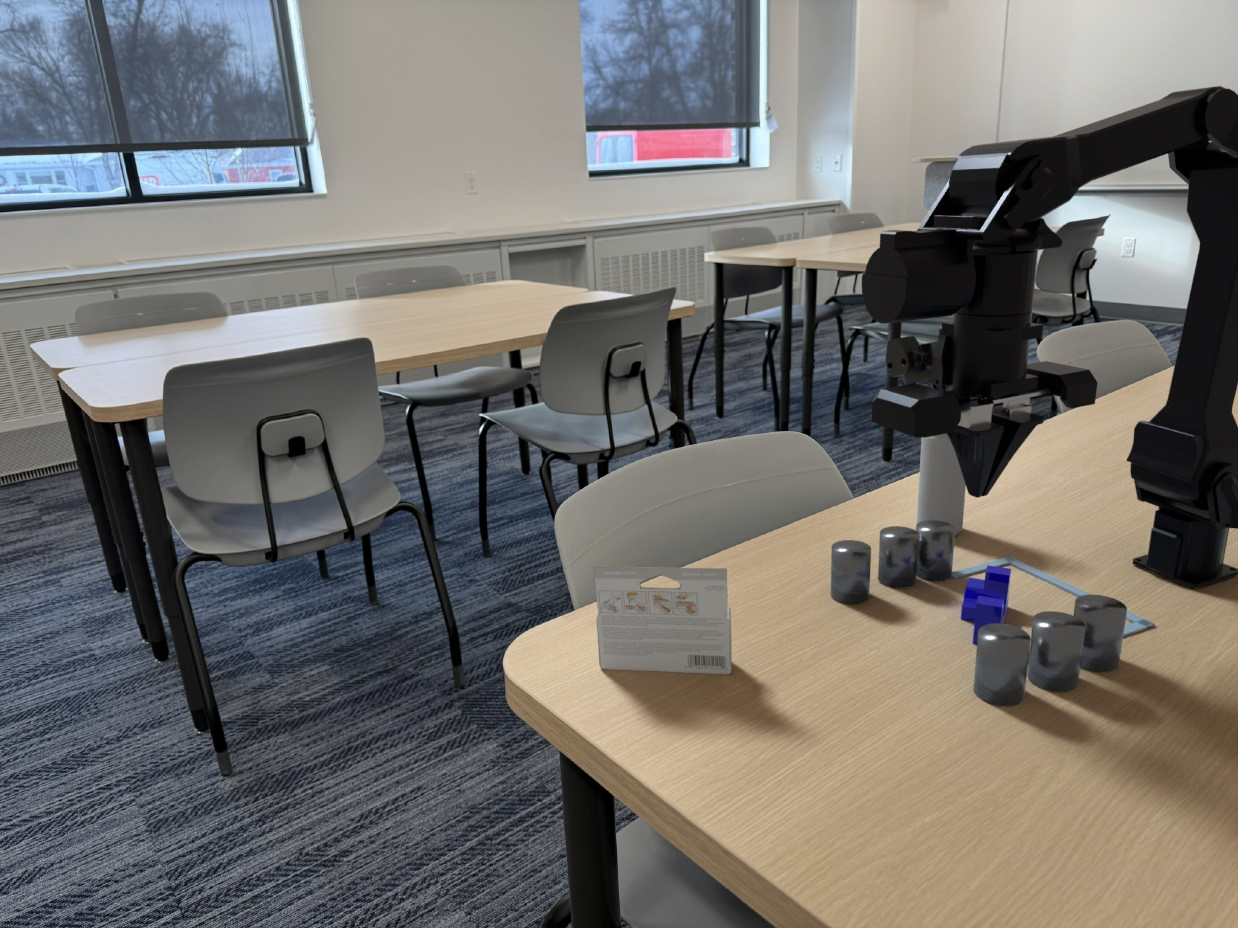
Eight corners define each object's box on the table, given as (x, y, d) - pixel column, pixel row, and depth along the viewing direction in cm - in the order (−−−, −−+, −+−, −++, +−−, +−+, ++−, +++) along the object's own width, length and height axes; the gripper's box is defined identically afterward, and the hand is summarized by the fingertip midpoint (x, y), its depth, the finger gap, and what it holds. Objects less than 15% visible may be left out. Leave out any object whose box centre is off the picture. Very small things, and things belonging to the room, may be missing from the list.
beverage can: (965, 540, 93) (973, 434, 89) (919, 538, 94) (925, 433, 90) (958, 522, 97) (965, 421, 93) (913, 522, 98) (919, 421, 94)
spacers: (930, 560, 88) (933, 516, 87) (1135, 668, 68) (1143, 611, 66) (820, 589, 84) (820, 542, 82) (1003, 714, 63) (1009, 655, 62)
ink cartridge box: (604, 656, 74) (597, 553, 71) (732, 661, 72) (730, 555, 69) (599, 671, 72) (591, 566, 69) (731, 677, 70) (729, 569, 67)
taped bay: (1009, 558, 88) (1009, 556, 88) (1154, 626, 74) (1154, 623, 74) (947, 574, 85) (947, 572, 85) (1086, 648, 71) (1086, 646, 71)
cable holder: (966, 601, 80) (970, 562, 79) (1007, 608, 78) (1011, 568, 77) (953, 641, 73) (957, 599, 72) (997, 650, 72) (1002, 607, 71)
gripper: (1003, 290, 78) (989, 453, 83) (832, 312, 72) (828, 487, 76) (1112, 302, 68) (1089, 486, 73) (925, 329, 62) (914, 529, 67)
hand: (977, 495), depth 73 cm, fingers closed
